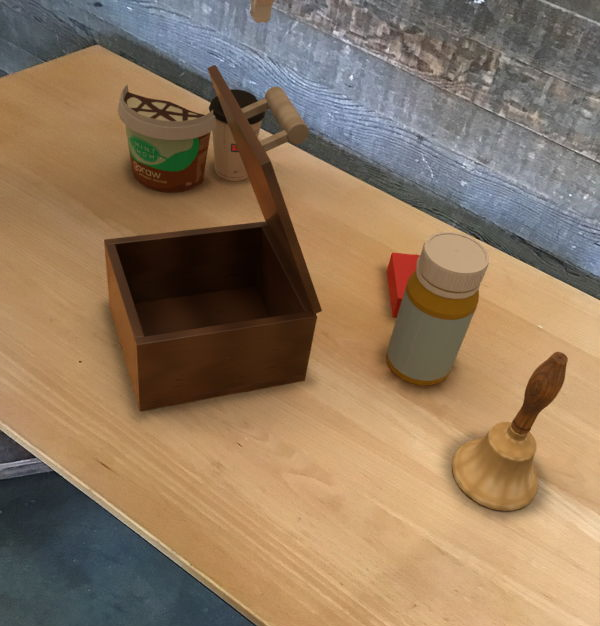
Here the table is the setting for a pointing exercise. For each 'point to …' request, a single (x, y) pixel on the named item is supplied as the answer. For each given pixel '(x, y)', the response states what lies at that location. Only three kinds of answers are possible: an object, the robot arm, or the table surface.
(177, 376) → the chest
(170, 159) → the food container
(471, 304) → the bottle
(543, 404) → the hand bell
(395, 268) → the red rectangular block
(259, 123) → the coffee cup
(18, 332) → the table surface
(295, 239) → the lid
